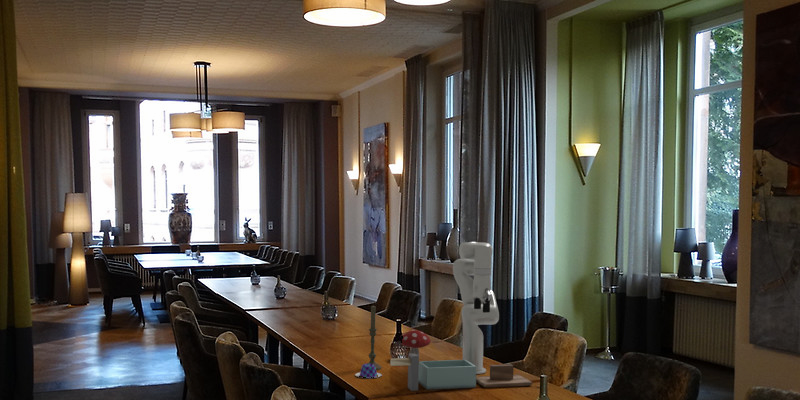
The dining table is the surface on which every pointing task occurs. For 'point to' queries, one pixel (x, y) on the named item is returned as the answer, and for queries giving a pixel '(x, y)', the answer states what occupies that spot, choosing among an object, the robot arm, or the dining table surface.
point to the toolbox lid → (502, 377)
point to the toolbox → (440, 374)
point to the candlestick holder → (372, 334)
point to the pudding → (368, 371)
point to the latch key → (400, 361)
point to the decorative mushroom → (415, 340)
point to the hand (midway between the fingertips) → (481, 310)
